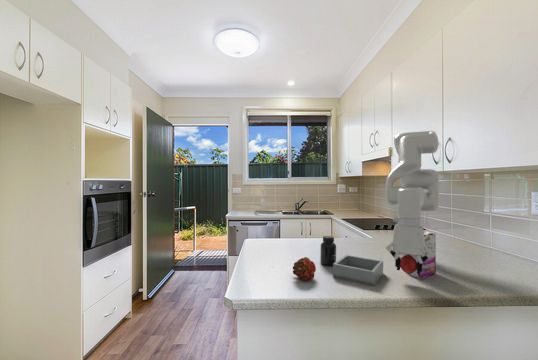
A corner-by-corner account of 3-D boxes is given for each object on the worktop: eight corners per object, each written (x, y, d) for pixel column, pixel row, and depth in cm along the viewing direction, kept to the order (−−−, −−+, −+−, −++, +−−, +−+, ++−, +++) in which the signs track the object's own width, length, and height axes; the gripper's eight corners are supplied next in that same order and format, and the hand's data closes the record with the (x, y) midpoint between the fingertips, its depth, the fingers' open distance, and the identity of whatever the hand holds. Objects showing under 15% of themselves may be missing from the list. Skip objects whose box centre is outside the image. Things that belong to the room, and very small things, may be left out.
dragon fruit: (302, 289, 92) (302, 281, 104) (321, 276, 92) (319, 269, 104) (288, 268, 94) (290, 263, 105) (307, 255, 94) (307, 251, 105)
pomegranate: (396, 271, 98) (396, 250, 97) (410, 271, 98) (410, 250, 98) (405, 278, 92) (405, 255, 92) (421, 277, 92) (421, 255, 92)
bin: (346, 266, 112) (346, 254, 112) (383, 273, 104) (383, 261, 104) (332, 276, 100) (332, 263, 100) (373, 286, 91) (373, 272, 91)
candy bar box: (423, 270, 108) (424, 230, 108) (436, 274, 104) (436, 232, 104) (406, 274, 103) (406, 233, 103) (418, 278, 98) (419, 235, 98)
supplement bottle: (336, 267, 111) (336, 239, 111) (320, 265, 113) (320, 238, 113) (335, 262, 118) (335, 235, 118) (320, 261, 119) (320, 234, 119)
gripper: (381, 221, 96) (381, 269, 97) (436, 226, 86) (435, 280, 87) (385, 218, 103) (385, 263, 103) (437, 222, 93) (437, 273, 93)
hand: (408, 270), depth 95 cm, fingers closed on pomegranate, 5 cm apart
